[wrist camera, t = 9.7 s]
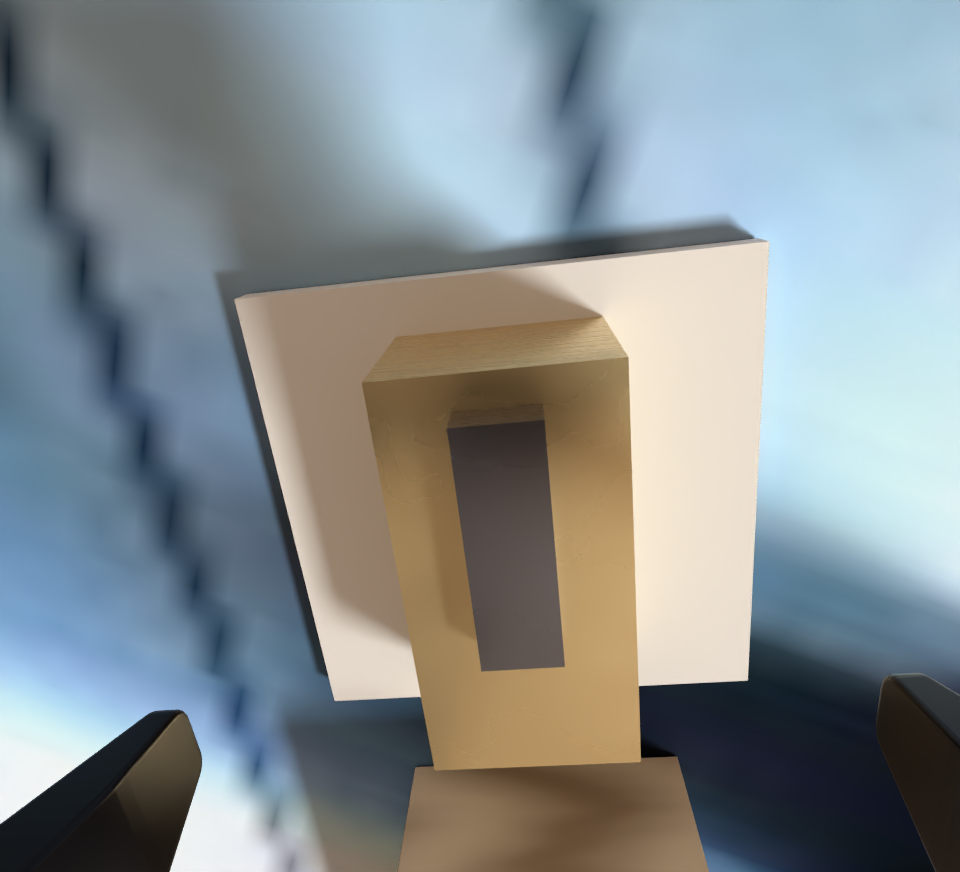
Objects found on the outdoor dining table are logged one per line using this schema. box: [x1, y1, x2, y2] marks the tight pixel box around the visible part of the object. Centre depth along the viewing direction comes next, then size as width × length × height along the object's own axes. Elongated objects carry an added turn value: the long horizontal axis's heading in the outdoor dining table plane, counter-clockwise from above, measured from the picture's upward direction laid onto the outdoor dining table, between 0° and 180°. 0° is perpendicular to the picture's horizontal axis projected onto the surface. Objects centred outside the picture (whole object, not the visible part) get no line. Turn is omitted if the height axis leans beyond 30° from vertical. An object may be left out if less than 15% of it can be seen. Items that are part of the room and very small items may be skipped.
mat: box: [234, 238, 769, 701], centre depth 14 cm, size 10×10×1 cm
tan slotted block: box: [362, 316, 641, 771], centre depth 12 cm, size 4×8×4 cm, turn 7°
